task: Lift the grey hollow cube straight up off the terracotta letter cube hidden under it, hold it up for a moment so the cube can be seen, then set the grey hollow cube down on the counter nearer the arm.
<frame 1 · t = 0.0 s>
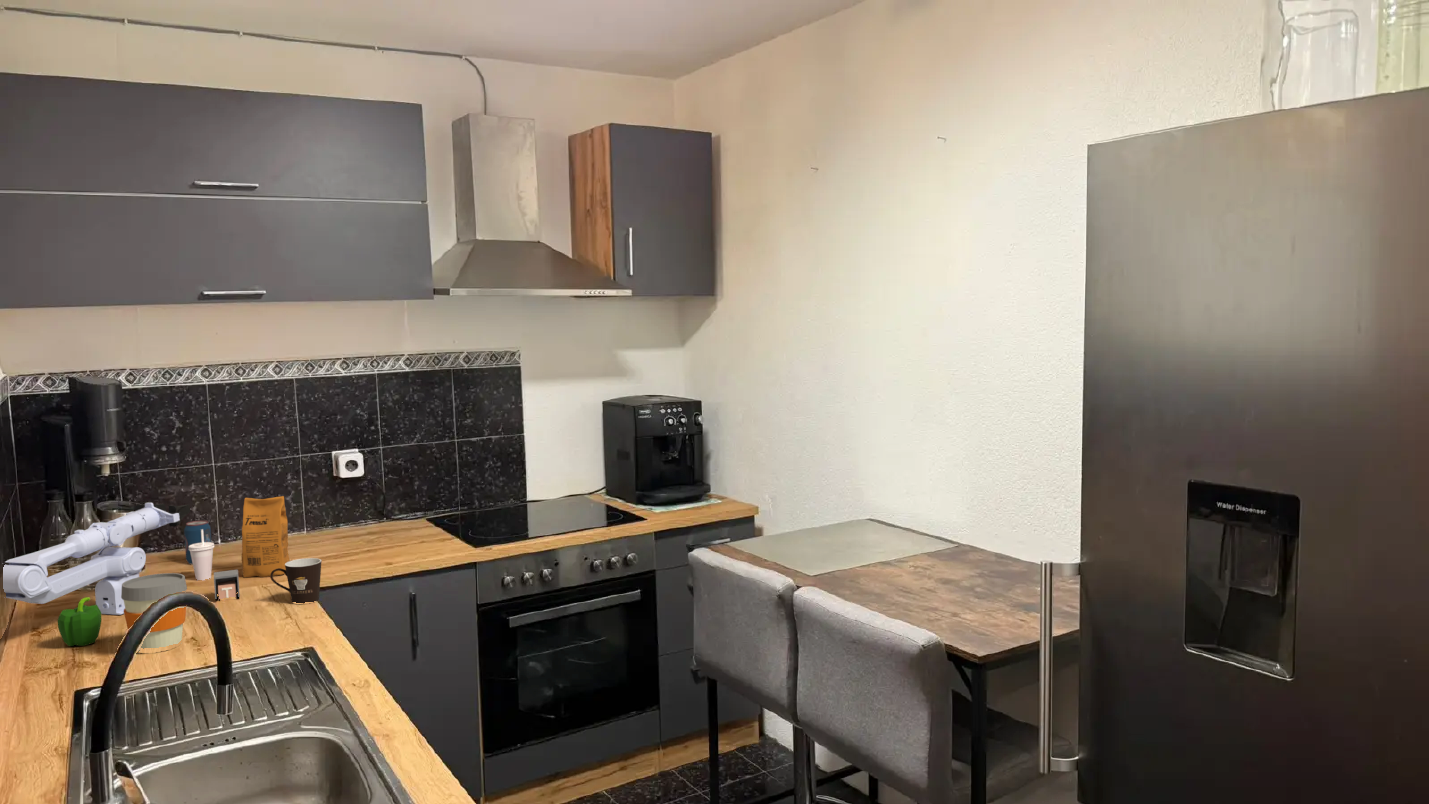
hand: (176, 507, 256), 22 cm above the worktop, tool horizontal, fingers open, 7 cm apart
reusable coffee cup: (158, 647, 210), on the worktop
grey hollow cube: (227, 597, 247), on the worktop
soda can: (199, 562, 284), on the worktop
coffee mug: (300, 601, 244), on the worktop
smoothie: (203, 579, 265), on the worktop
letter cube: (227, 598, 247), on the worktop
coffee package: (266, 574, 270), on the worktop
bell pepper: (82, 644, 213), on the worktop
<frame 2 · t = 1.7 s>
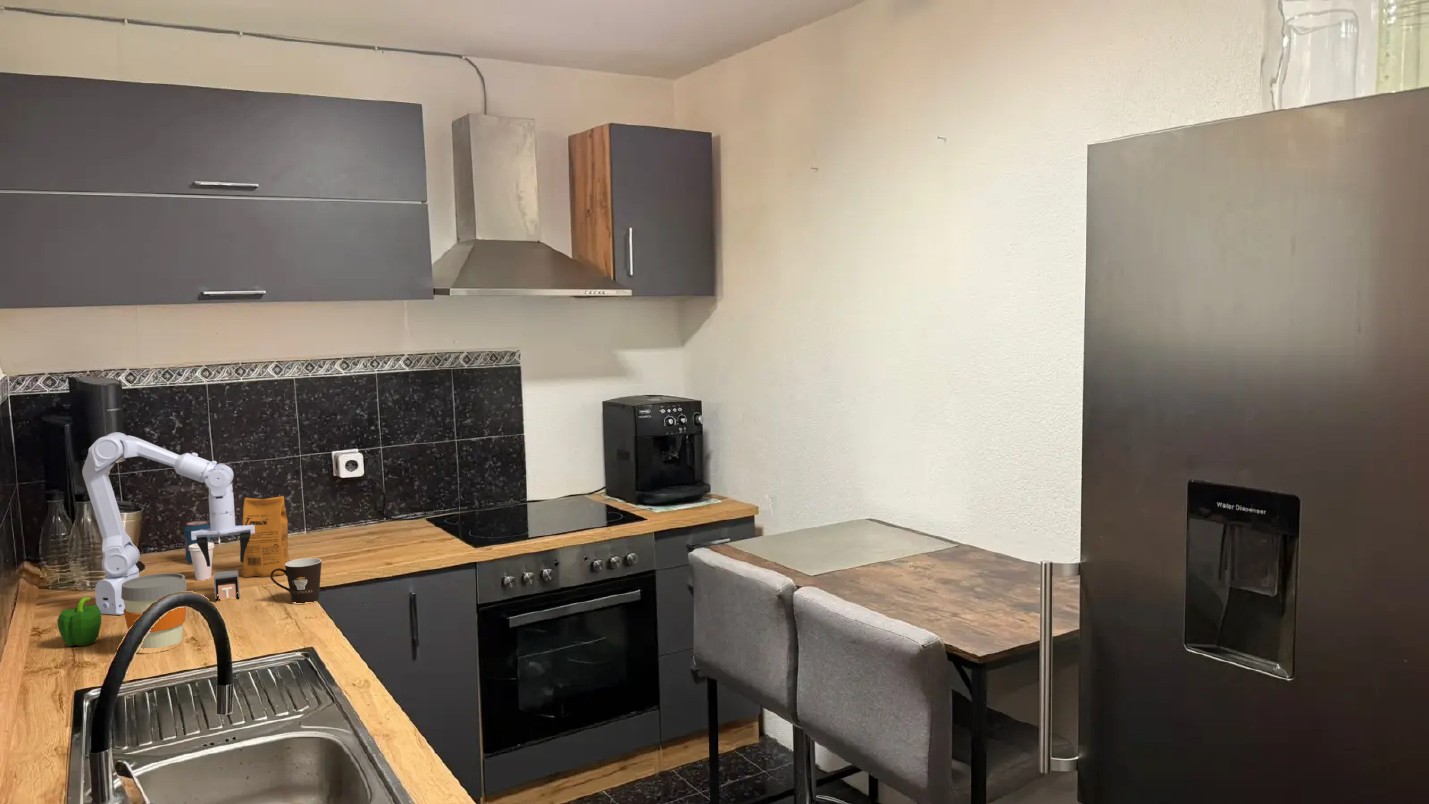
hand: (225, 563, 246), 9 cm above the worktop, tool pointing down, fingers open, 7 cm apart
nothing on the worktop moved.
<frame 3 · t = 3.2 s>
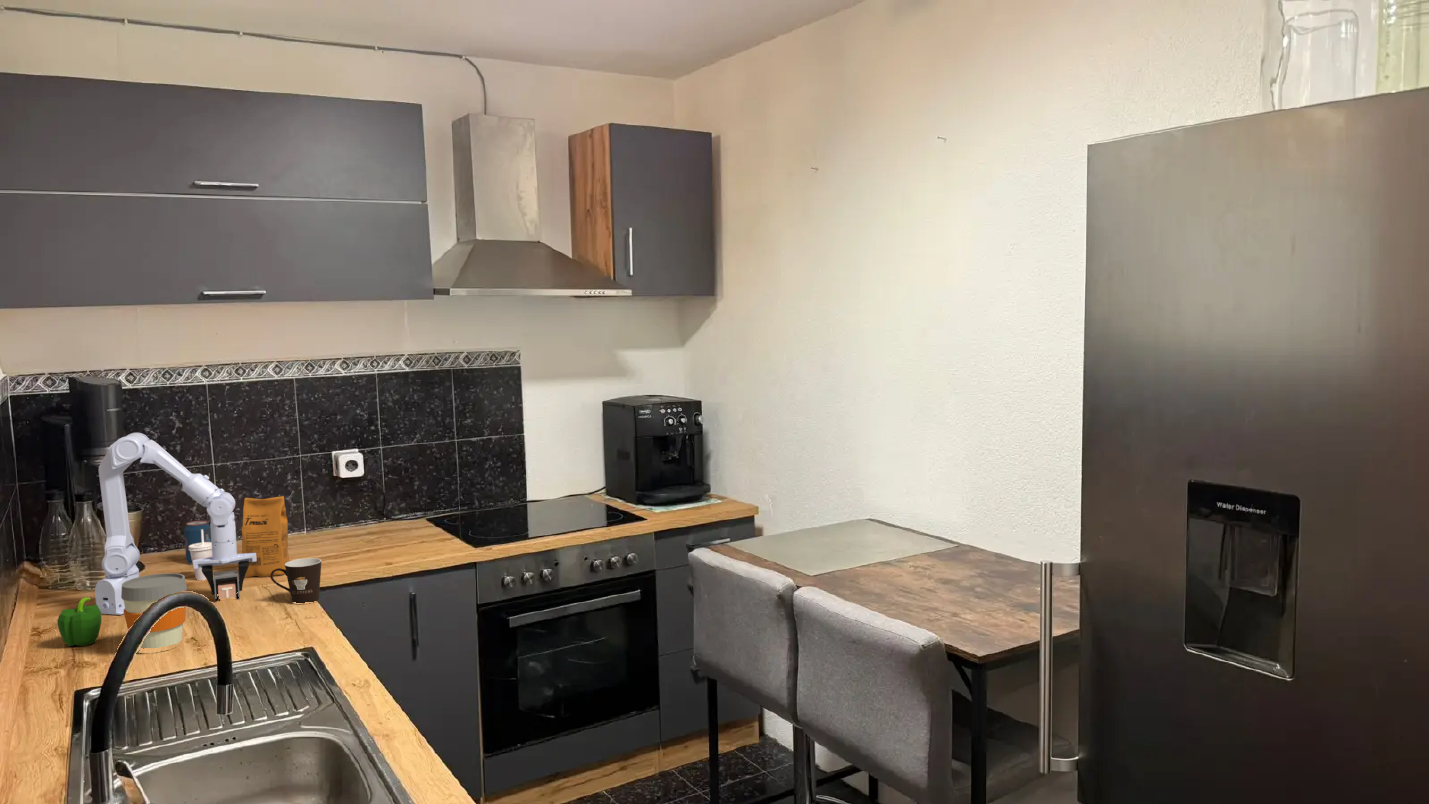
hand: (227, 591, 246), 2 cm above the worktop, tool pointing down, fingers closed on grey hollow cube, 6 cm apart
grey hollow cube: (227, 597, 247), on the worktop, touching gripper
everything else where it was.
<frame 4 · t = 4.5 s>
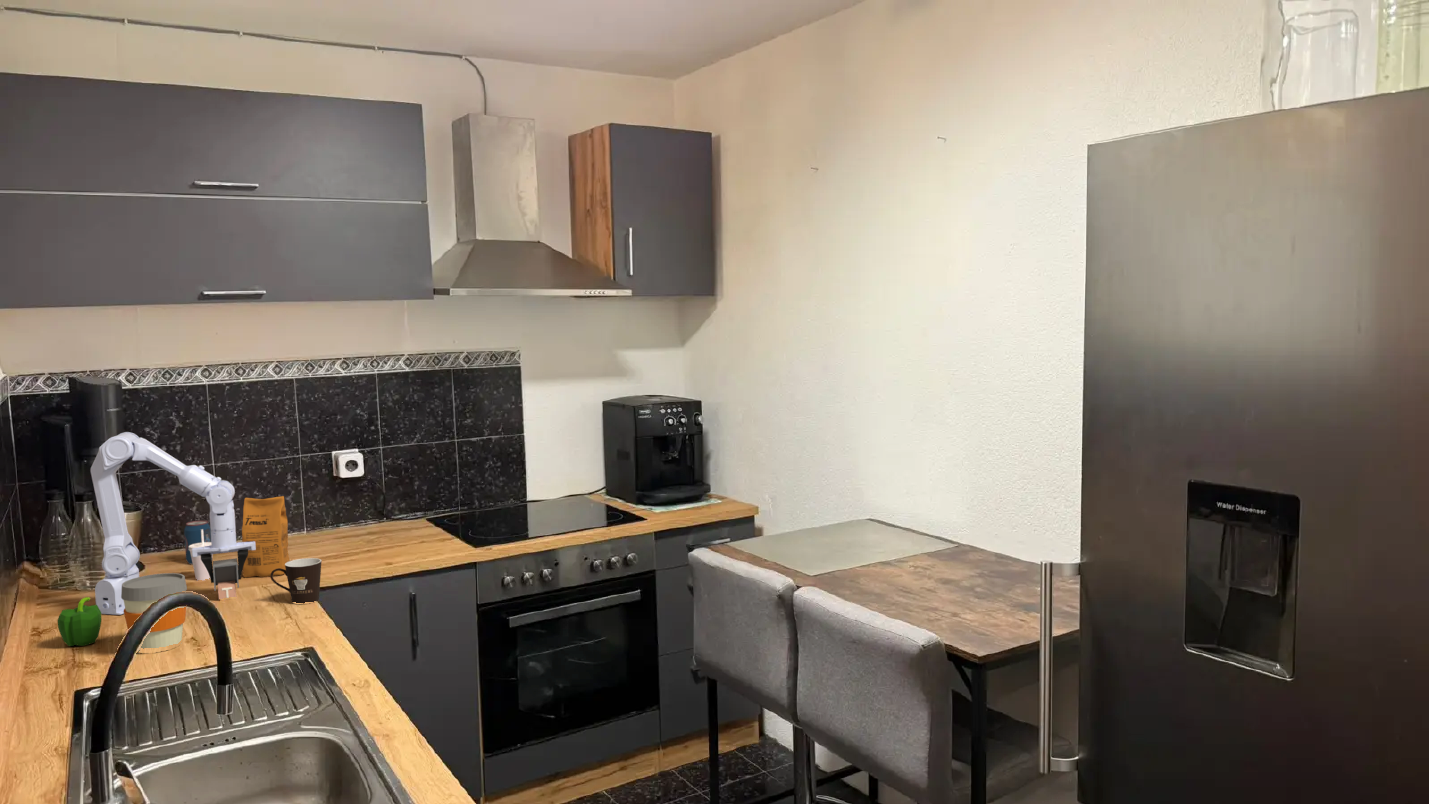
hand: (226, 580, 246), 5 cm above the worktop, tool pointing down, fingers closed on grey hollow cube, 6 cm apart
grey hollow cube: (226, 586, 246), point 3 cm above the worktop, touching gripper
everything else where it was.
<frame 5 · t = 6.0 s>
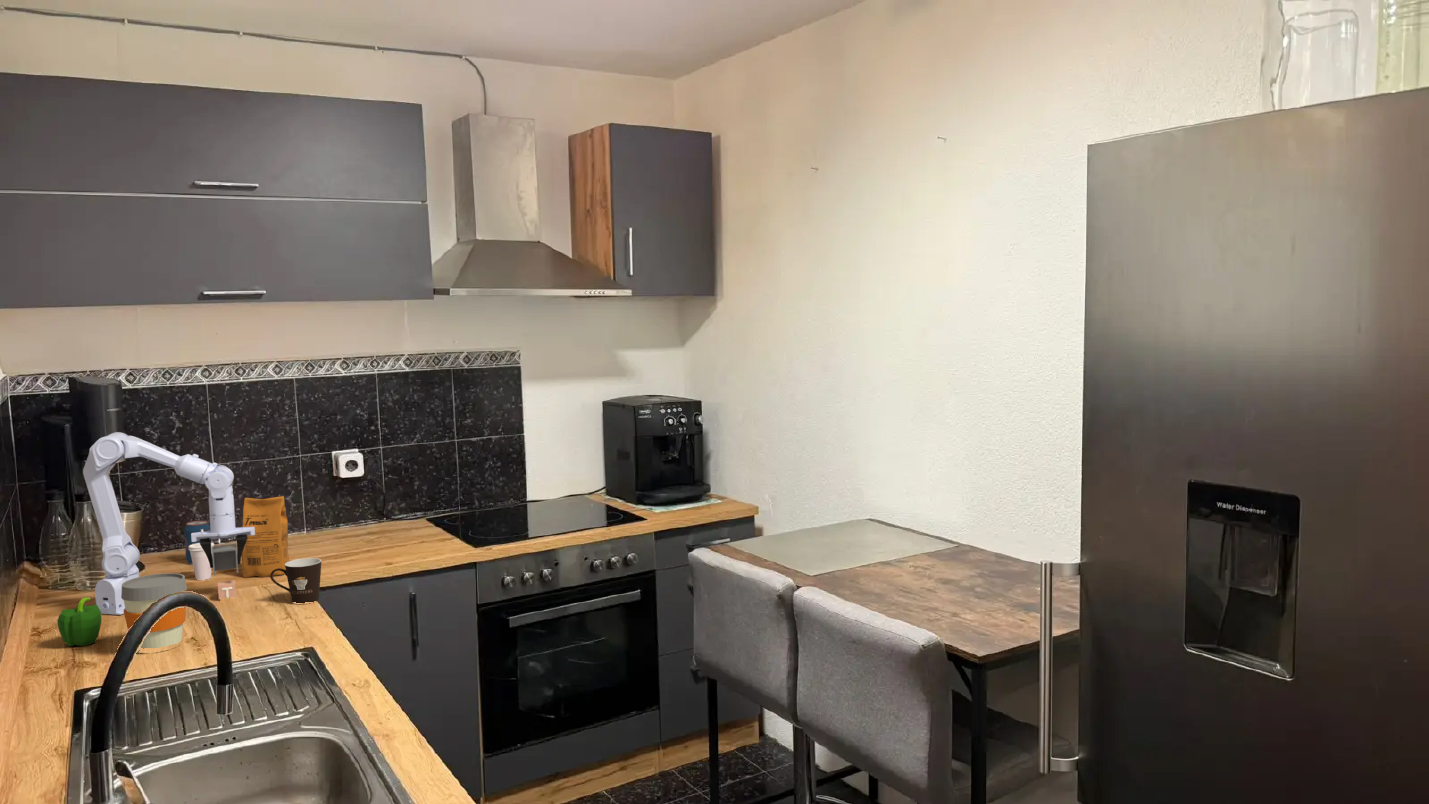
hand: (225, 565, 246), 9 cm above the worktop, tool pointing down, fingers closed on grey hollow cube, 6 cm apart
grey hollow cube: (225, 571, 246), point 7 cm above the worktop, touching gripper
everything else where it was.
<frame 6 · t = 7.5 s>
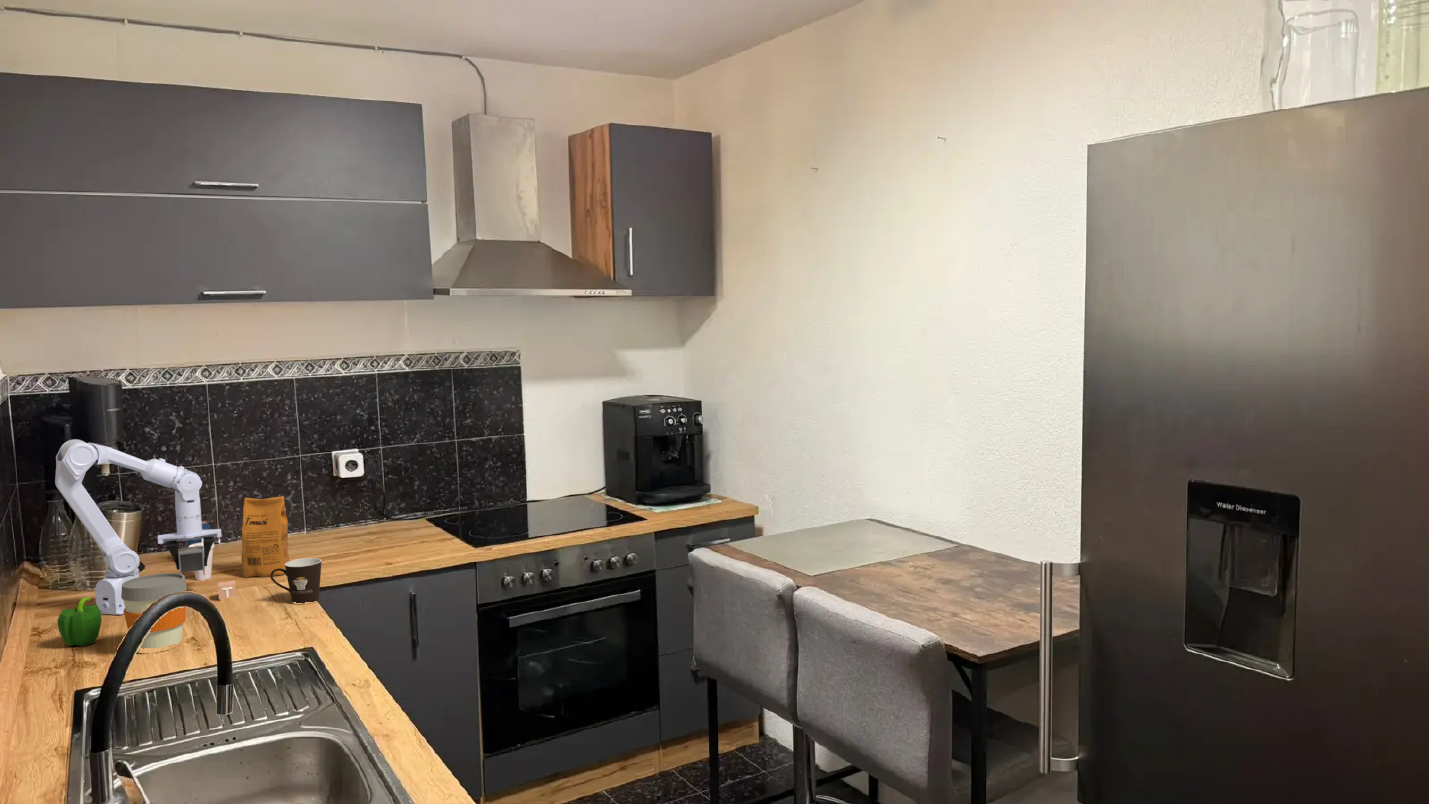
hand: (192, 567, 249), 7 cm above the worktop, tool pointing down, fingers closed on grey hollow cube, 6 cm apart
grey hollow cube: (192, 573, 249), point 6 cm above the worktop, touching gripper
everything else where it was.
when the fingers open (3 cm above the worktop, at t = 8.8 s): grey hollow cube drops 1 cm, on the worktop.
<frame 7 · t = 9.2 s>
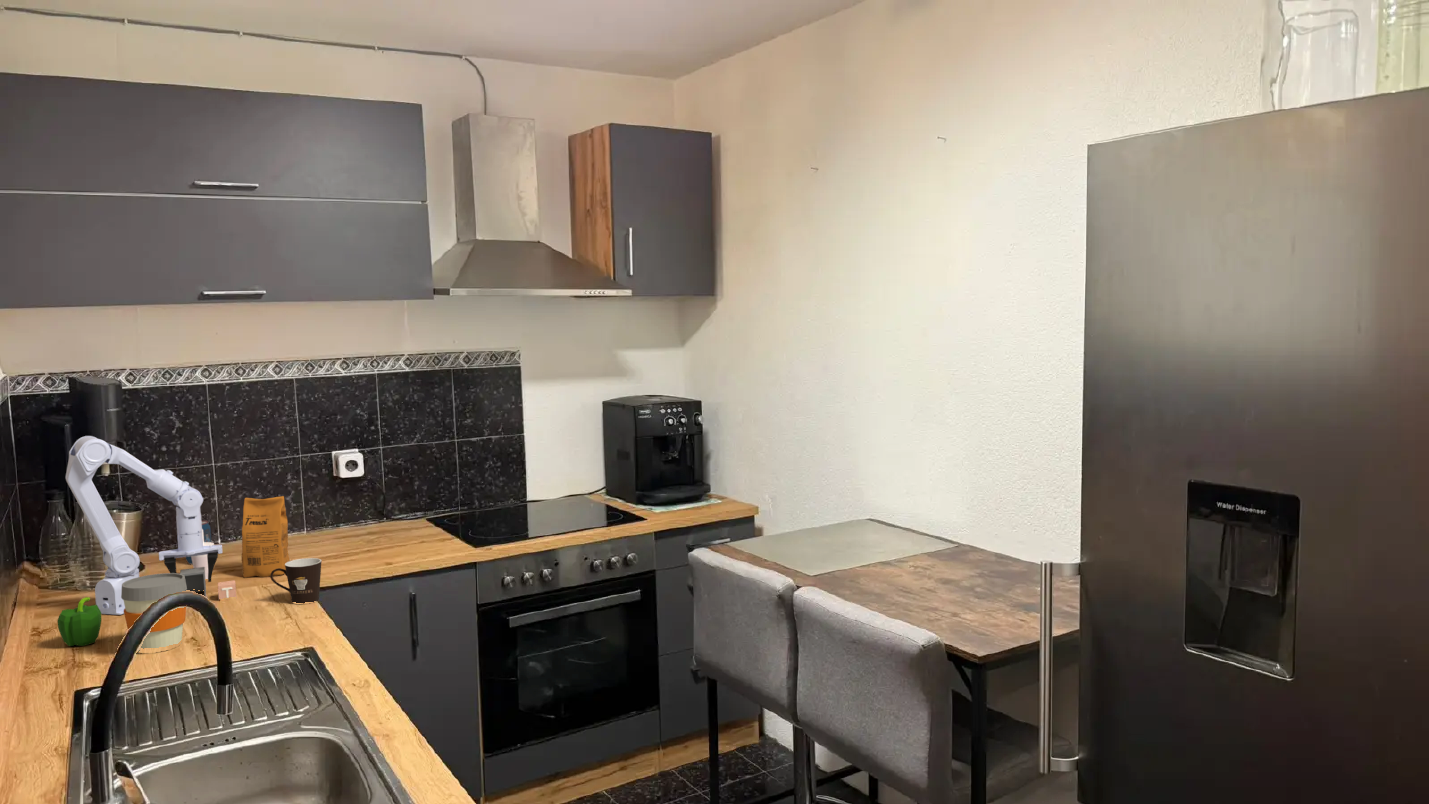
hand: (193, 583, 250), 3 cm above the worktop, tool pointing down, fingers open, 7 cm apart
grey hollow cube: (194, 594, 250), on the worktop
everything else where it was.
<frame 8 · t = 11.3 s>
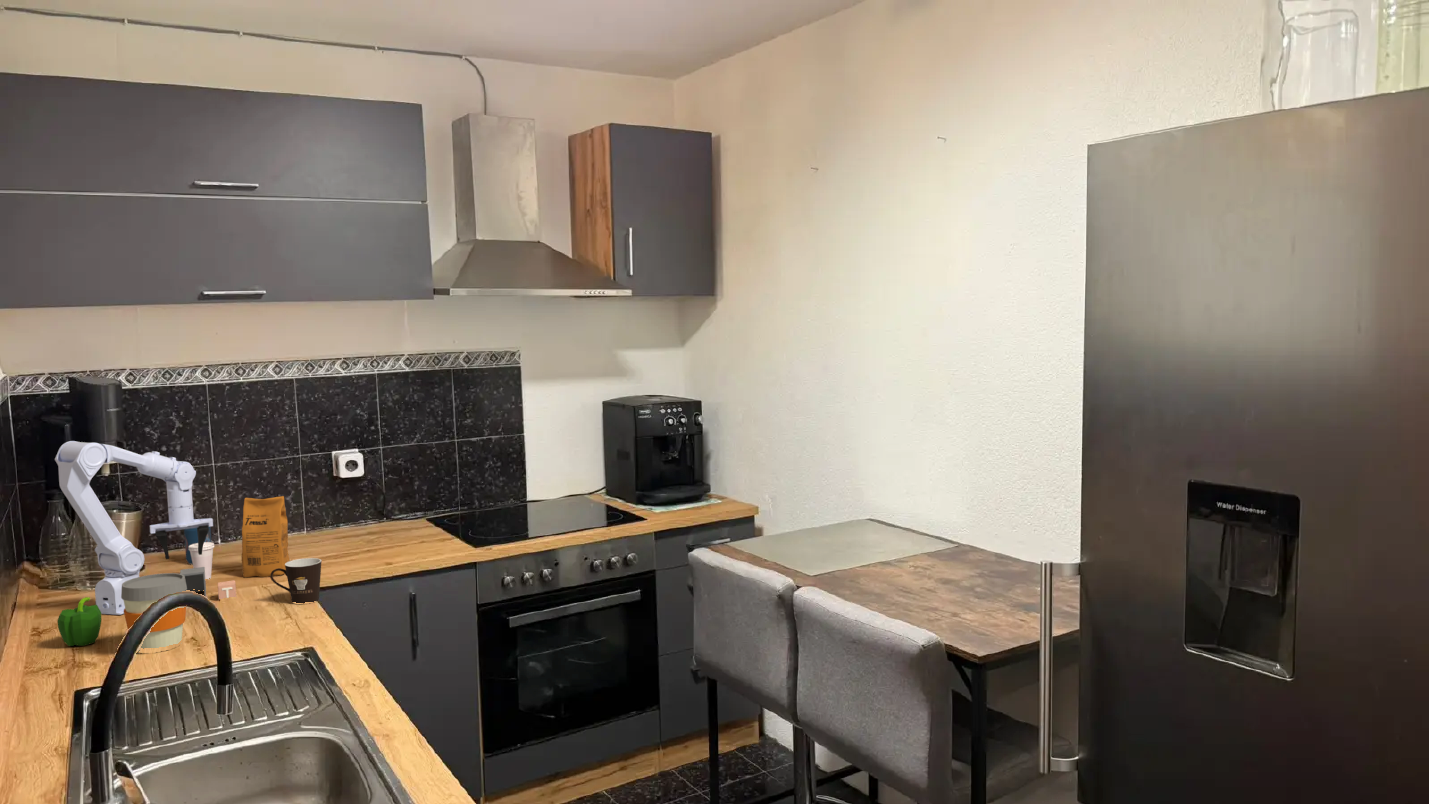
hand: (183, 556, 253), 9 cm above the worktop, tool pointing down, fingers open, 7 cm apart
nothing on the worktop moved.
at the end: grey hollow cube inside the target area (0.1 cm from its centre), on the worktop; grey hollow cube tilted 0°; letter cube moved 0.1 cm from its start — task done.
